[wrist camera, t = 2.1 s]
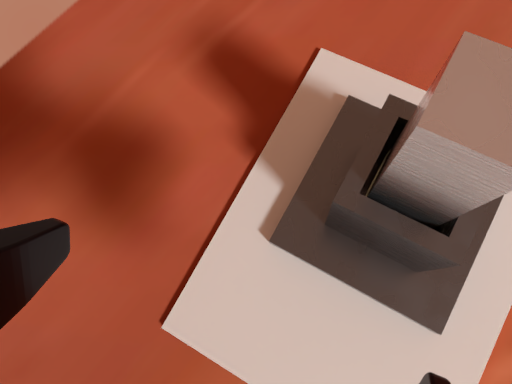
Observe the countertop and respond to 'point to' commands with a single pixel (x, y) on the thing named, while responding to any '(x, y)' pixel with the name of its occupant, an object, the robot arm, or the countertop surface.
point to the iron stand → (378, 222)
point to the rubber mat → (320, 284)
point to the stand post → (454, 139)
